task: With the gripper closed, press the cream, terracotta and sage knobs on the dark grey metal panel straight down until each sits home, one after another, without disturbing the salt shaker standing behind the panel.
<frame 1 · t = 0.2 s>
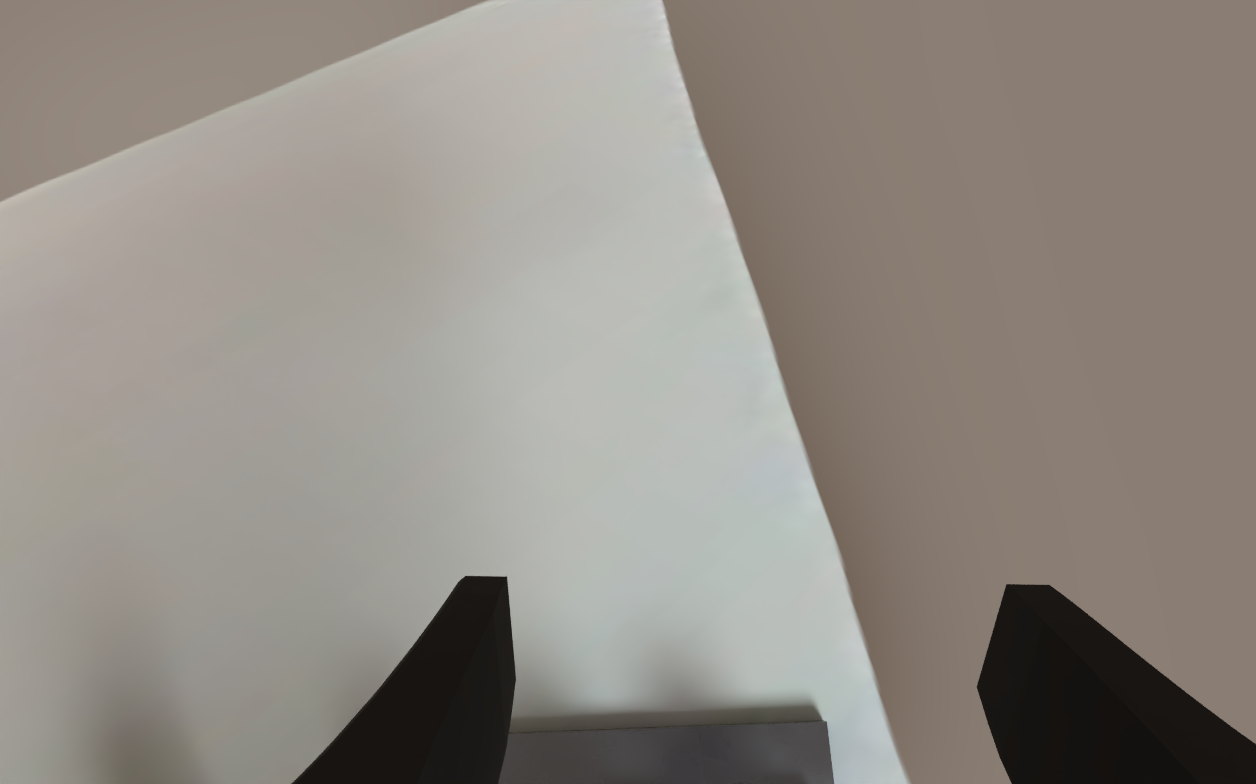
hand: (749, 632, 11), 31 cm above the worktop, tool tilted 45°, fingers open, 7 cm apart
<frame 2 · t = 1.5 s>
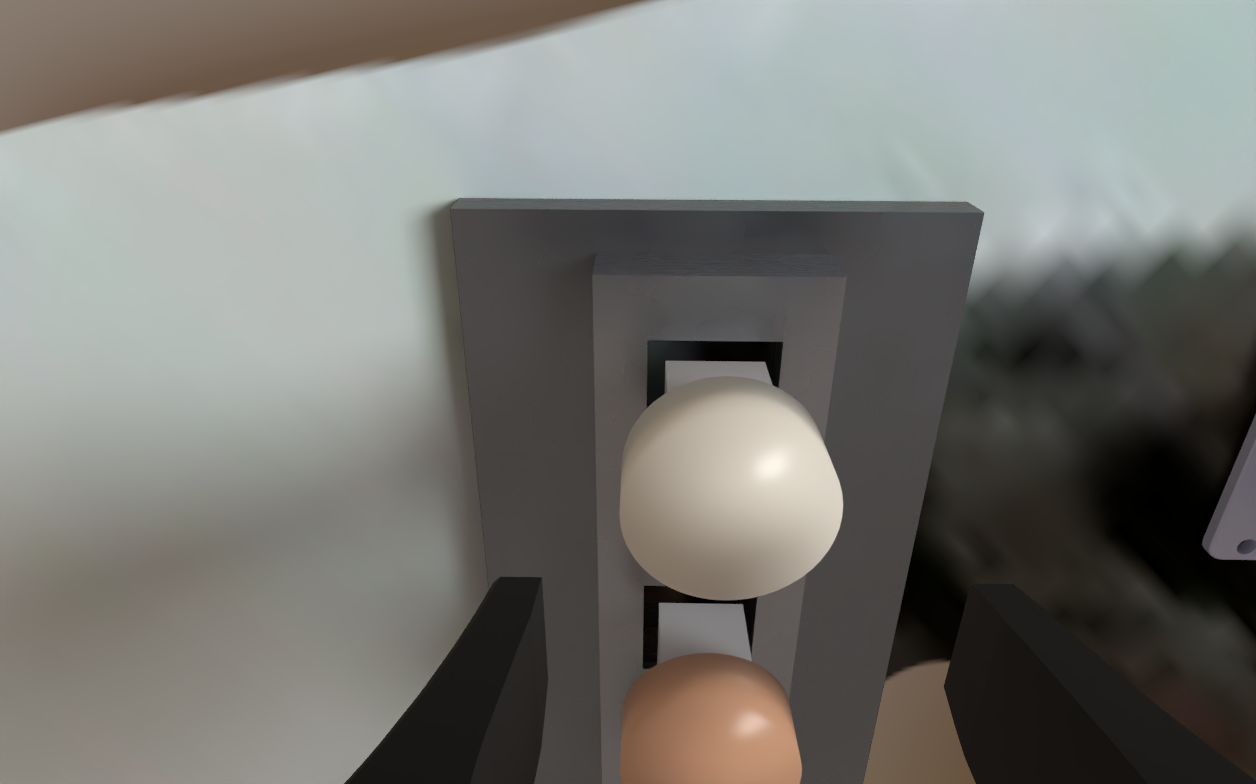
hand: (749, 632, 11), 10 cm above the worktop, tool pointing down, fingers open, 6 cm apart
terracotta knob: (704, 697, 19), point 5 cm above the worktop, slide at 0.0 cm
switch panel: (693, 566, 23), on the worktop
cream knob: (720, 453, 16), point 5 cm above the worktop, slide at 0.0 cm
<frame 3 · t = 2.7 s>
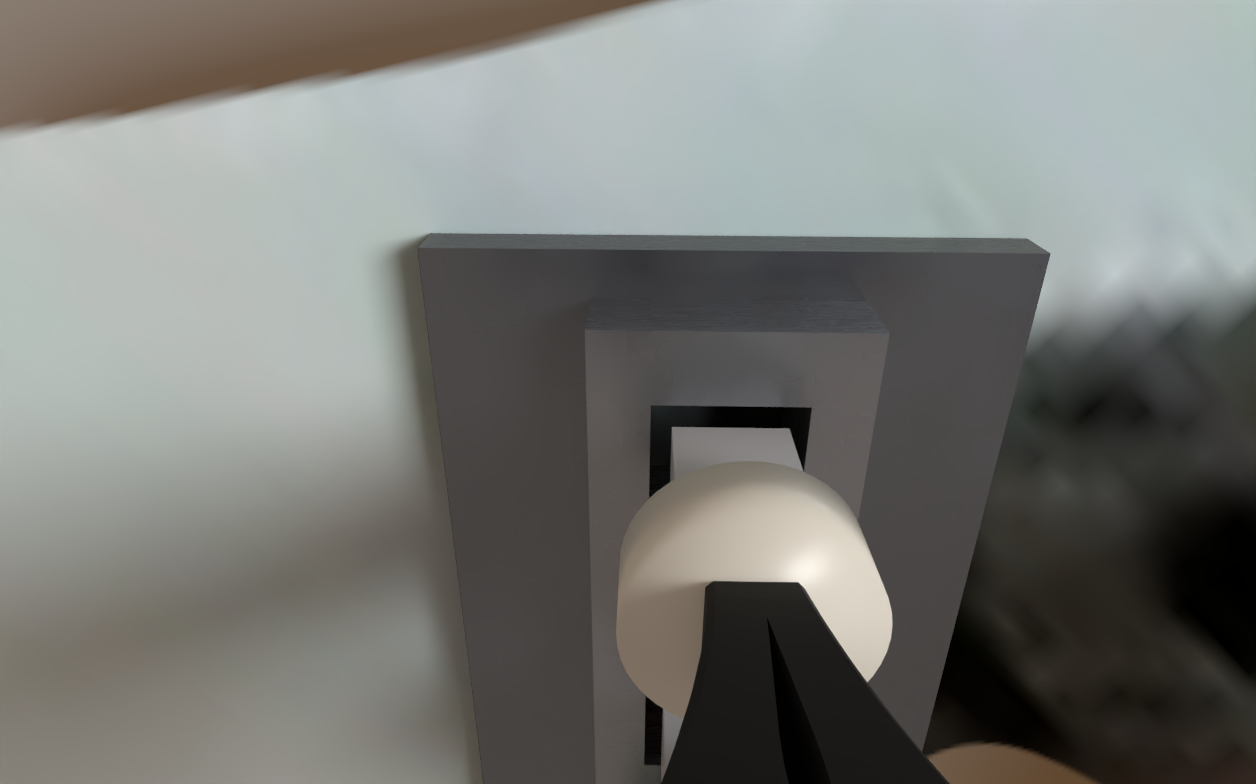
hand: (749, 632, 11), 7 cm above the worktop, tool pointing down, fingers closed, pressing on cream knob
switch panel: (701, 642, 21), on the worktop
cream knob: (738, 545, 13), point 5 cm above the worktop, slide at 0.1 cm, touching gripper
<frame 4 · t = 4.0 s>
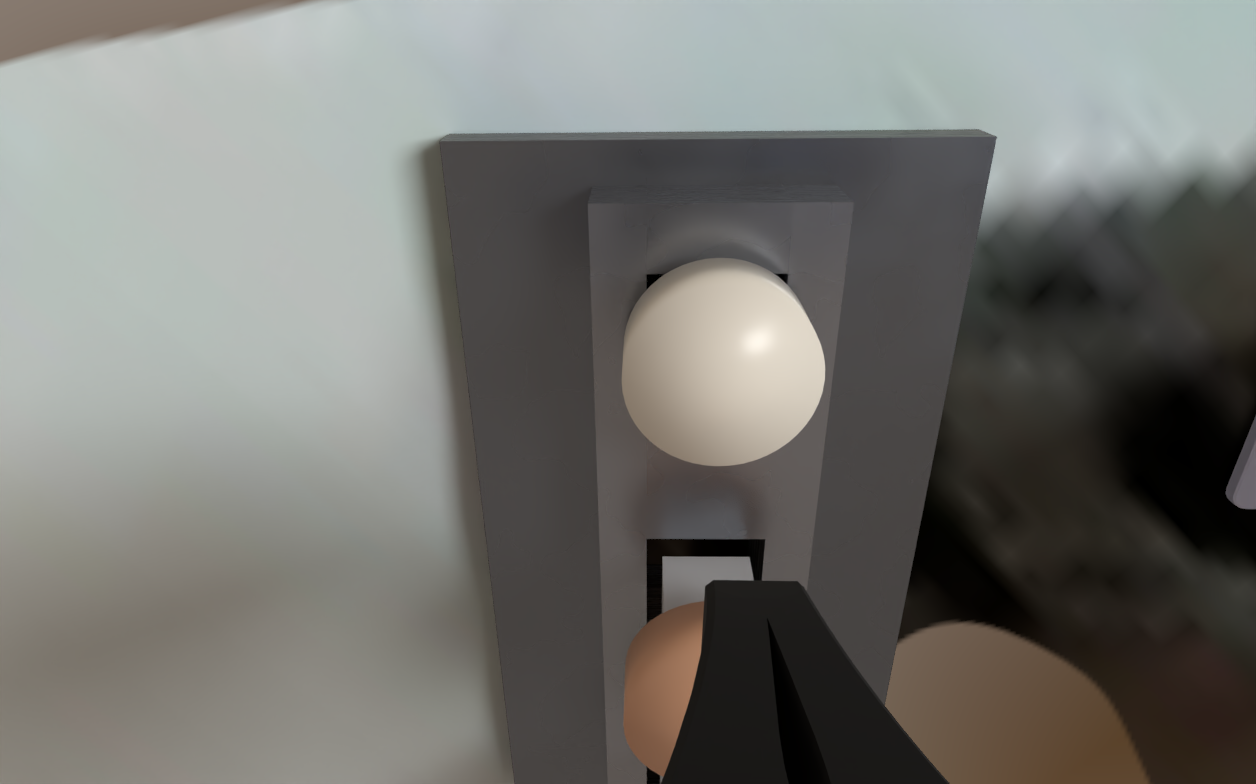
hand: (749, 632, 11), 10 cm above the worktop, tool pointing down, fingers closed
terracotta knob: (710, 651, 18), point 5 cm above the worktop, slide at 0.0 cm
switch panel: (697, 524, 23), on the worktop
cream knob: (714, 338, 17), point 3 cm above the worktop, slide at 2.3 cm
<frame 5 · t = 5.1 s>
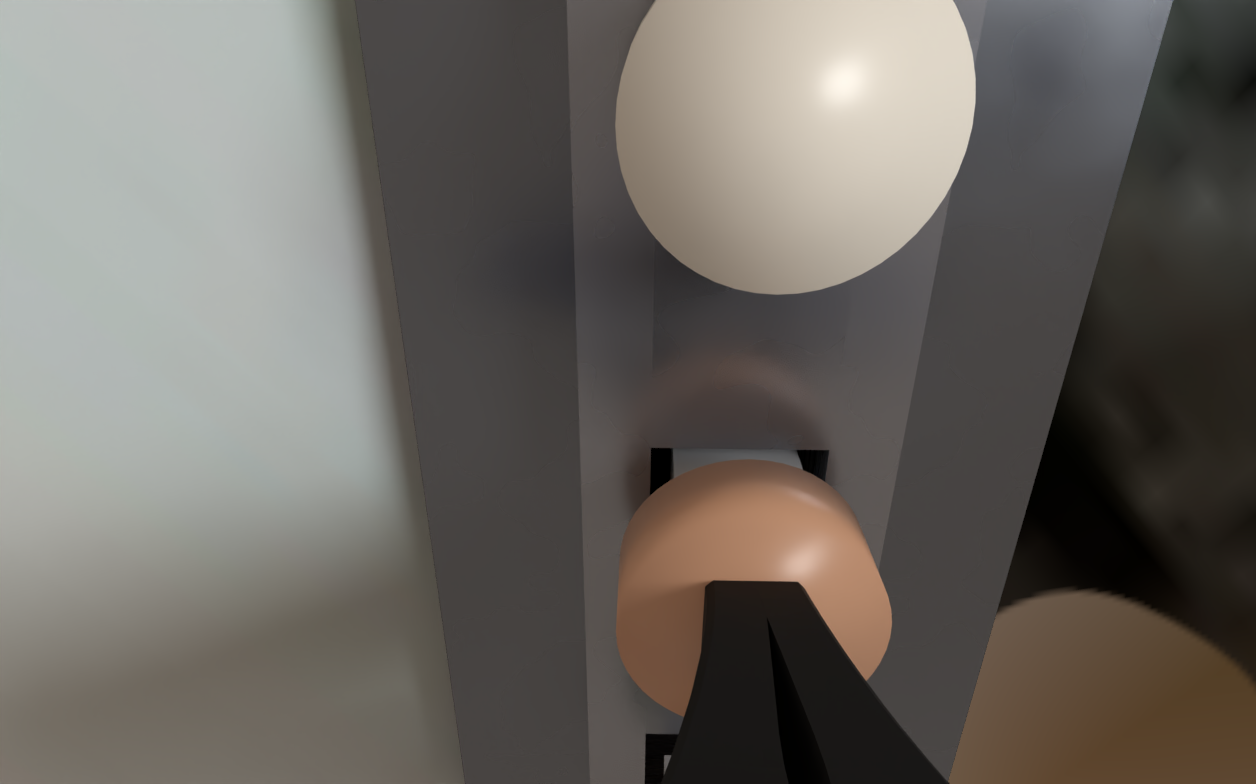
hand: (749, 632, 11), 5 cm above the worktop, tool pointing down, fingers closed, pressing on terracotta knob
terracotta knob: (737, 543, 13), point 3 cm above the worktop, slide at 1.7 cm, touching gripper
switch panel: (721, 445, 16), on the worktop
cream knob: (767, 102, 11), point 3 cm above the worktop, slide at 2.3 cm
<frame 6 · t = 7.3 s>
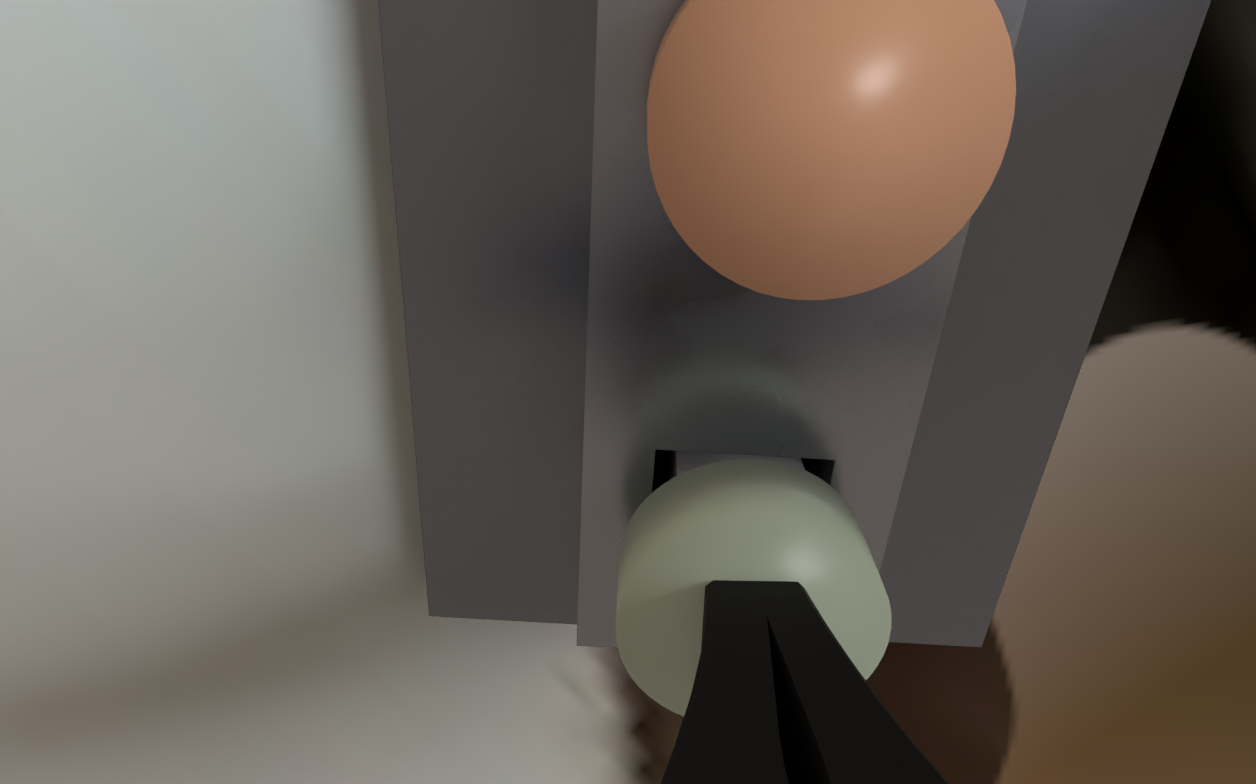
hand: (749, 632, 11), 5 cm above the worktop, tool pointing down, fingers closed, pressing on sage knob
terracotta knob: (795, 104, 10), point 3 cm above the worktop, slide at 2.3 cm
switch panel: (769, 84, 13), on the worktop
sage knob: (737, 543, 13), point 3 cm above the worktop, slide at 1.9 cm, touching gripper
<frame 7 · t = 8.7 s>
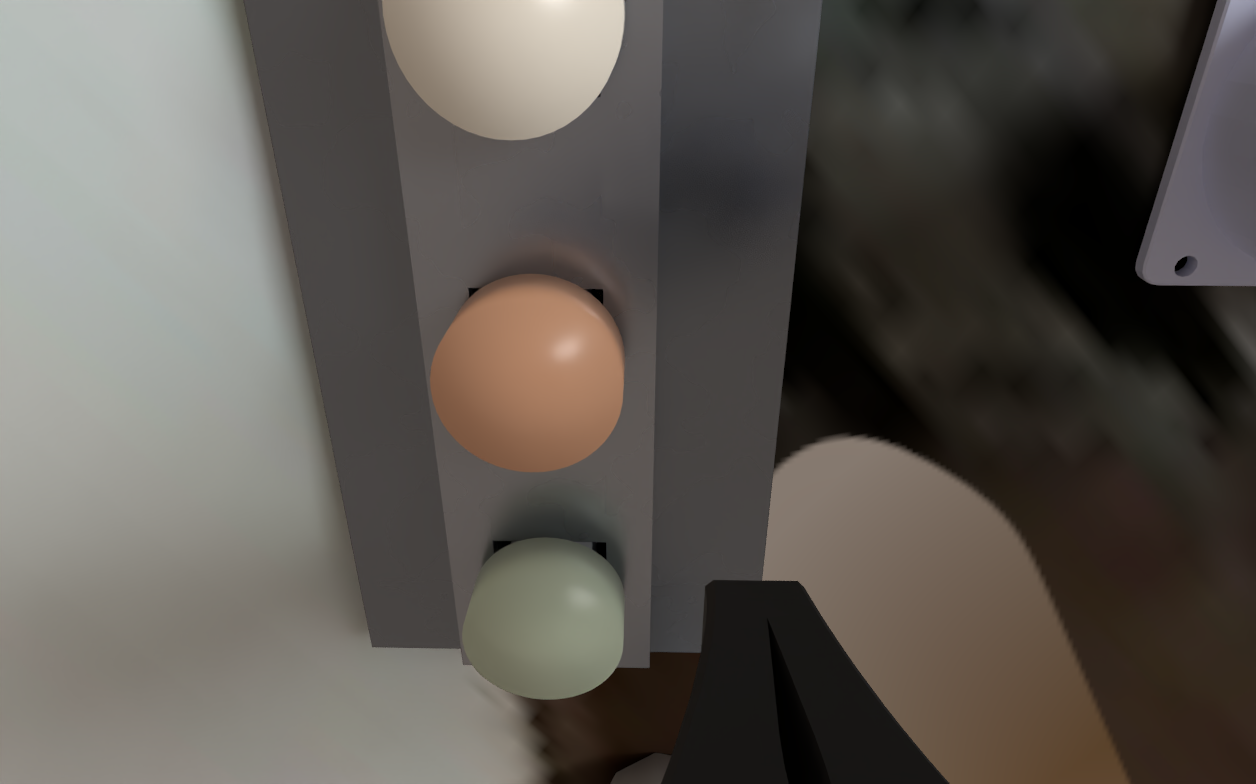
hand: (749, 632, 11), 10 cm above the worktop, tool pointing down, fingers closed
terracotta knob: (539, 349, 18), point 3 cm above the worktop, slide at 2.3 cm
switch panel: (551, 309, 20), on the worktop
sage knob: (551, 585, 21), point 3 cm above the worktop, slide at 2.3 cm
cream knob: (520, 12, 15), point 3 cm above the worktop, slide at 2.3 cm
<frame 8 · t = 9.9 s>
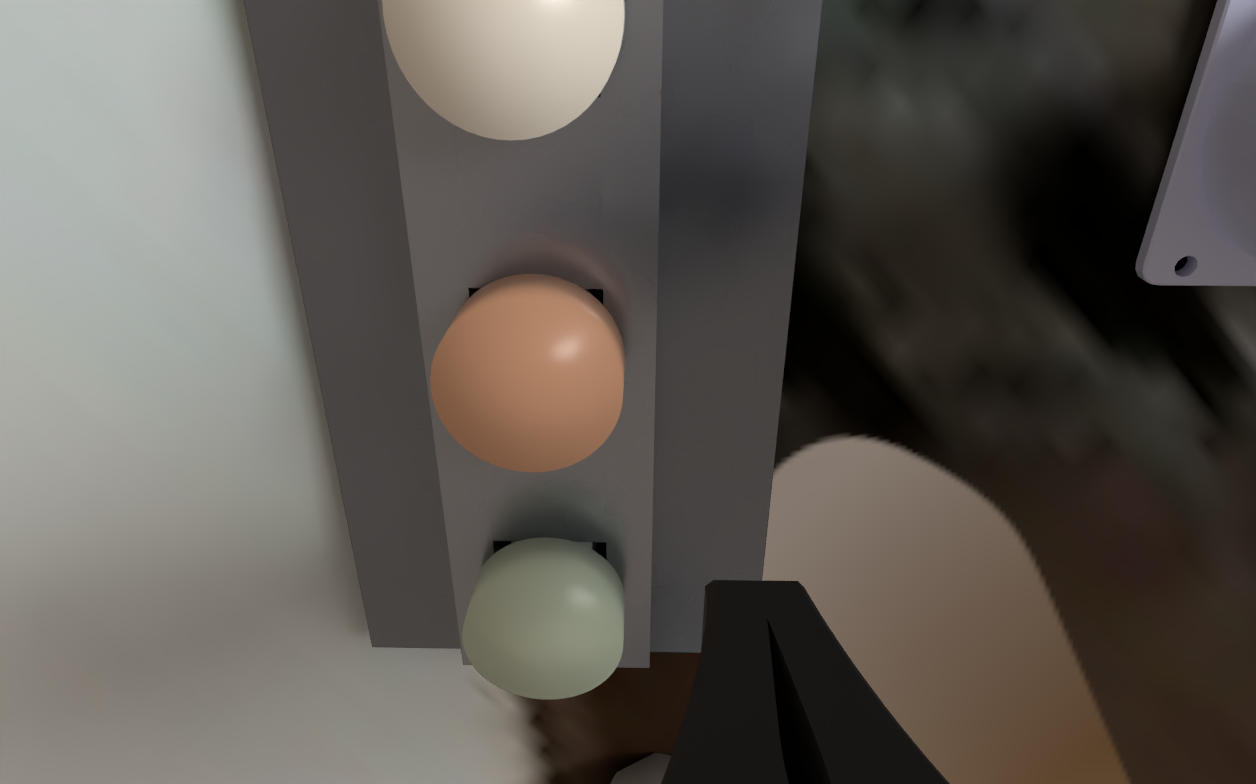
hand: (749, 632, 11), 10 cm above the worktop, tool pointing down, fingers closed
terracotta knob: (539, 349, 18), point 3 cm above the worktop, slide at 2.3 cm
switch panel: (551, 309, 20), on the worktop
sage knob: (551, 585, 21), point 3 cm above the worktop, slide at 2.3 cm
cream knob: (520, 12, 15), point 3 cm above the worktop, slide at 2.3 cm
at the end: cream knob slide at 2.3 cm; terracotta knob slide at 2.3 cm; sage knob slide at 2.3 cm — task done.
